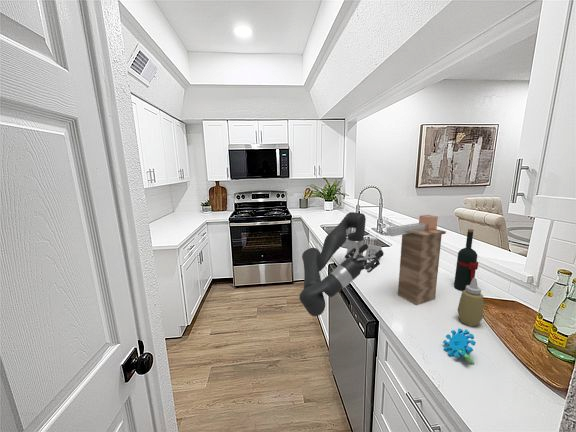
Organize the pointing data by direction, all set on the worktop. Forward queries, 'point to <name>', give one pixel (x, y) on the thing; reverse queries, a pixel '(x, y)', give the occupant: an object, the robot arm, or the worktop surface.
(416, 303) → the shelf post
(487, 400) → the worktop surface
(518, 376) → the worktop surface
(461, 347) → the blue flower
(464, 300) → the squeeze bottle
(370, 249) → the electrical switch
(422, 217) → the copper head mallet
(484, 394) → the worktop surface
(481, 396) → the worktop surface
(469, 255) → the wine bottle
